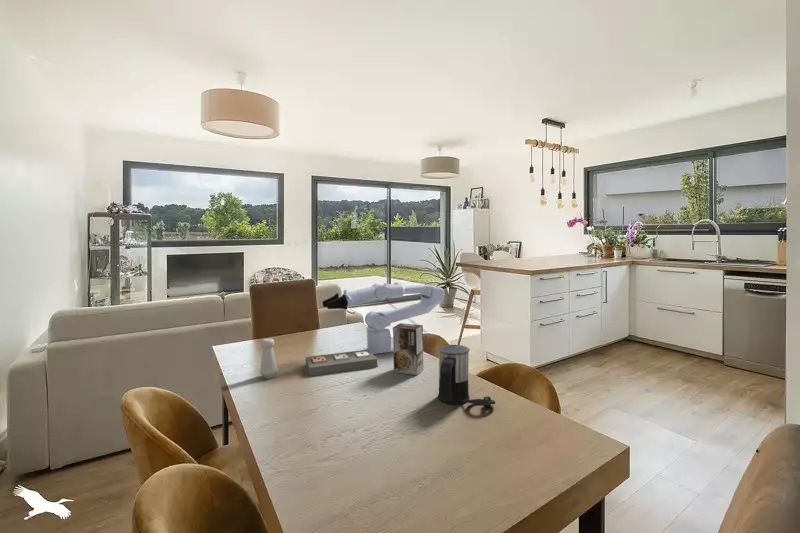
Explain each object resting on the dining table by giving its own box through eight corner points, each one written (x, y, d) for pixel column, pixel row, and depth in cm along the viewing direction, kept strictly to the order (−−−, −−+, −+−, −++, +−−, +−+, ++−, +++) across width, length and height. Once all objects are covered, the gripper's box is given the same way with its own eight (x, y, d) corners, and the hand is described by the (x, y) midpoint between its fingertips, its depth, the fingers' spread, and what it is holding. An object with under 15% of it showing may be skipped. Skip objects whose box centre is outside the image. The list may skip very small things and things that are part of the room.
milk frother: (437, 390, 119) (437, 343, 117) (490, 392, 117) (490, 344, 116) (438, 412, 104) (437, 359, 103) (497, 414, 103) (498, 360, 102)
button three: (324, 362, 141) (324, 355, 141) (326, 366, 137) (326, 359, 137) (312, 364, 140) (311, 357, 140) (313, 368, 136) (313, 361, 136)
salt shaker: (281, 374, 134) (280, 337, 132) (271, 380, 128) (269, 342, 127) (267, 372, 136) (266, 336, 134) (256, 378, 130) (254, 340, 129)
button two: (345, 360, 144) (345, 353, 144) (348, 363, 140) (348, 356, 140) (334, 361, 143) (333, 354, 142) (336, 365, 139) (336, 358, 138)
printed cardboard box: (424, 369, 137) (423, 324, 135) (417, 375, 131) (416, 329, 129) (400, 366, 141) (400, 322, 139) (392, 372, 135) (392, 326, 133)
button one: (366, 357, 147) (366, 350, 147) (369, 361, 143) (369, 354, 143) (355, 358, 145) (355, 352, 145) (358, 362, 141) (357, 355, 141)
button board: (368, 356, 151) (368, 349, 151) (377, 366, 140) (377, 358, 140) (305, 364, 143) (305, 357, 143) (310, 376, 132) (309, 367, 131)
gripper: (351, 286, 160) (319, 293, 155) (362, 288, 147) (327, 296, 141) (354, 302, 161) (322, 310, 155) (365, 306, 147) (331, 315, 142)
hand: (325, 305), depth 148 cm, fingers open, 7 cm apart
